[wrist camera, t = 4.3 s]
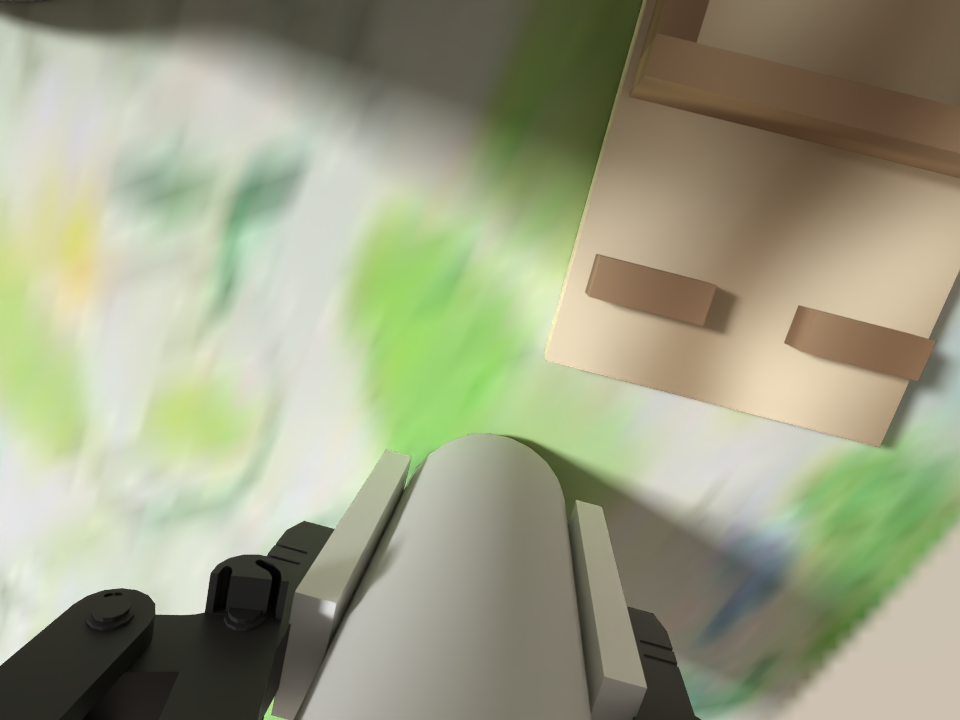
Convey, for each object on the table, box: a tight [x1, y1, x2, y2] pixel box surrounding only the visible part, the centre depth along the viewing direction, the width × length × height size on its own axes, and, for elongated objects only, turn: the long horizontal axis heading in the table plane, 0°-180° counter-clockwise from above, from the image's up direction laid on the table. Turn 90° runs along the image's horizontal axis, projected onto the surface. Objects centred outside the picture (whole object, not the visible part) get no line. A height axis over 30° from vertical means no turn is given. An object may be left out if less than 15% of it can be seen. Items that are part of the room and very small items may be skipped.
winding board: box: [544, 0, 960, 447], centre depth 13 cm, size 9×16×3 cm, turn 166°
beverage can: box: [294, 433, 591, 720], centre depth 12 cm, size 5×5×12 cm
